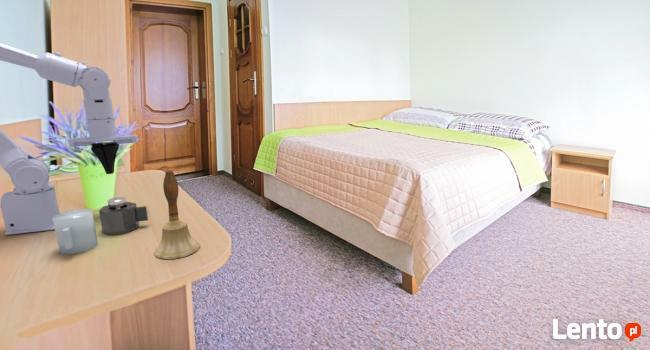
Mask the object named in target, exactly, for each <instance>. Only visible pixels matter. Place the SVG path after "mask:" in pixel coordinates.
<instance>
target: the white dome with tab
mask: <svg viewBox="0 0 650 350" xmlns="http://www.w3.org/2000/svg"><path fill="white" fill-rule="evenodd" d="M53 223H54V228H55V229H54V232H55V237H56V240H57V246H58V251H59V253H60V254H61V255H67V256H68V255H77V254H80V253H85V252H88V251H90V250H93V249H94V248H96V247H97V246H98V245H99V242H98V237H97V230H96V223H95V219H94V214H93V210H92V209H87V208H80V209H73V210H67V211H63V212H60V214H57V215H55V216H54V217H53Z"/></svg>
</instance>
